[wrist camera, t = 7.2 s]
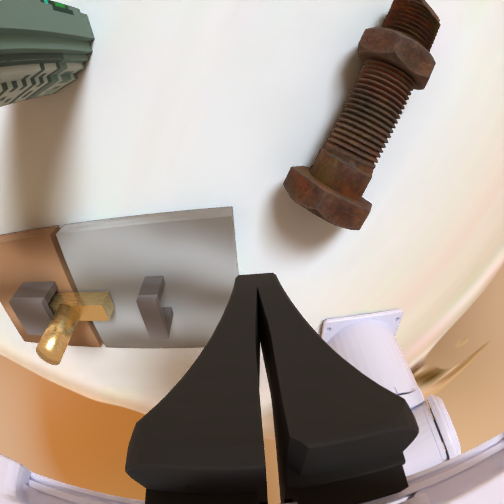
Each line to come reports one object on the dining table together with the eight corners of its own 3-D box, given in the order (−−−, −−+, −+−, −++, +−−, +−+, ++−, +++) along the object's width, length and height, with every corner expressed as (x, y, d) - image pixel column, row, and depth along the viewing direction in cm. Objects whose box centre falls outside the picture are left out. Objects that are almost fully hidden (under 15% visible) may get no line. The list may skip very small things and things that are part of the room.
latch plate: (244, 332, 27) (246, 370, 23) (29, 331, 26) (15, 359, 23) (232, 206, 20) (231, 237, 17) (-18, 238, 20) (-43, 262, 16)
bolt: (400, 21, 15) (317, 191, 22) (362, -21, 12) (266, 179, 18) (471, 40, 11) (376, 237, 18) (445, -11, 8) (330, 231, 15)
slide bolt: (115, 308, 22) (93, 368, 17) (34, 308, 22) (6, 357, 17) (107, 289, 21) (81, 349, 16) (25, 291, 21) (-6, 340, 16)
